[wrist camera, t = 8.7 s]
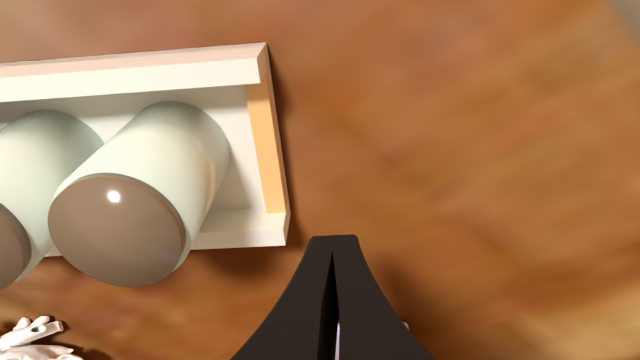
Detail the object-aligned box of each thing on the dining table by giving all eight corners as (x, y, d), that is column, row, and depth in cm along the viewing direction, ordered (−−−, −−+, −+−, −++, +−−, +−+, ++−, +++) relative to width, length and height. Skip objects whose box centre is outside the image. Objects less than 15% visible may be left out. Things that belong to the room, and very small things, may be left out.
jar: (149, 198, 23) (79, 296, 17) (111, 109, 20) (14, 185, 14) (241, 187, 22) (203, 284, 16) (214, 94, 20) (157, 167, 14)
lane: (290, 213, 24) (280, 275, 20) (-67, 231, 25) (-150, 293, 21) (266, 42, 19) (246, 74, 15) (-167, 76, 21) (-299, 114, 17)
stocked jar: (125, 197, 23) (48, 293, 17) (34, 202, 23) (-73, 298, 17) (92, 106, 20) (-11, 180, 14) (-9, 113, 21) (-152, 189, 15)
